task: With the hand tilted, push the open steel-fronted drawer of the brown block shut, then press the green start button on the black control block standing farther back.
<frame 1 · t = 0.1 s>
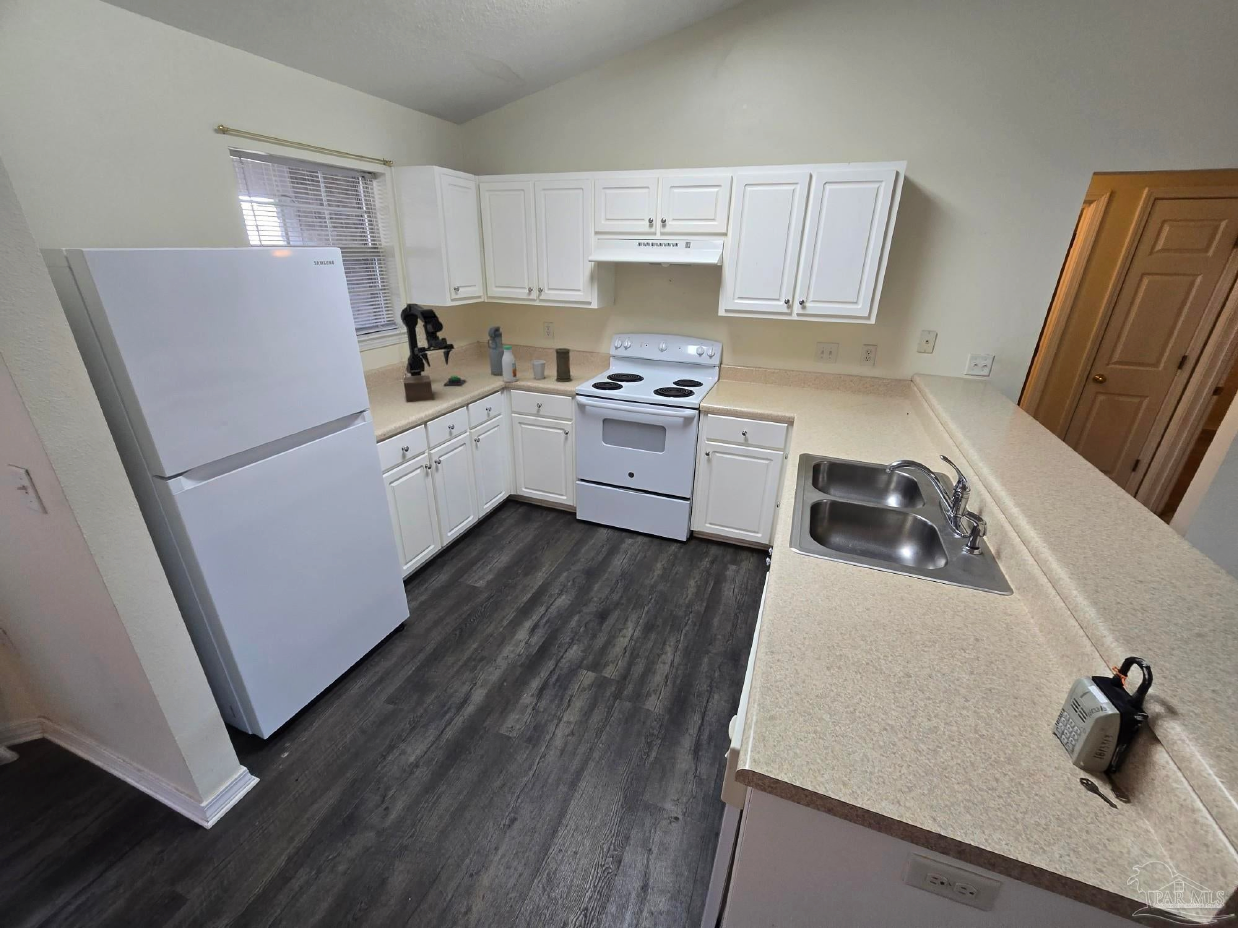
hand: (438, 365, 261), 15 cm above the worktop, tool pointing down, fingers open, 9 cm apart
milk bottle: (510, 381, 297), on the worktop
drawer: (417, 384, 268), point 5 cm above the worktop, slide at 4.0 cm
control block: (455, 383, 290), on the worktop
water bottle: (499, 374, 313), on the worktop
container: (563, 380, 299), on the worktop
start button: (454, 377, 288), point 3 cm above the worktop, slide at 0.1 cm
brown block: (419, 397, 263), on the worktop
dixie cup: (539, 378, 303), on the worktop
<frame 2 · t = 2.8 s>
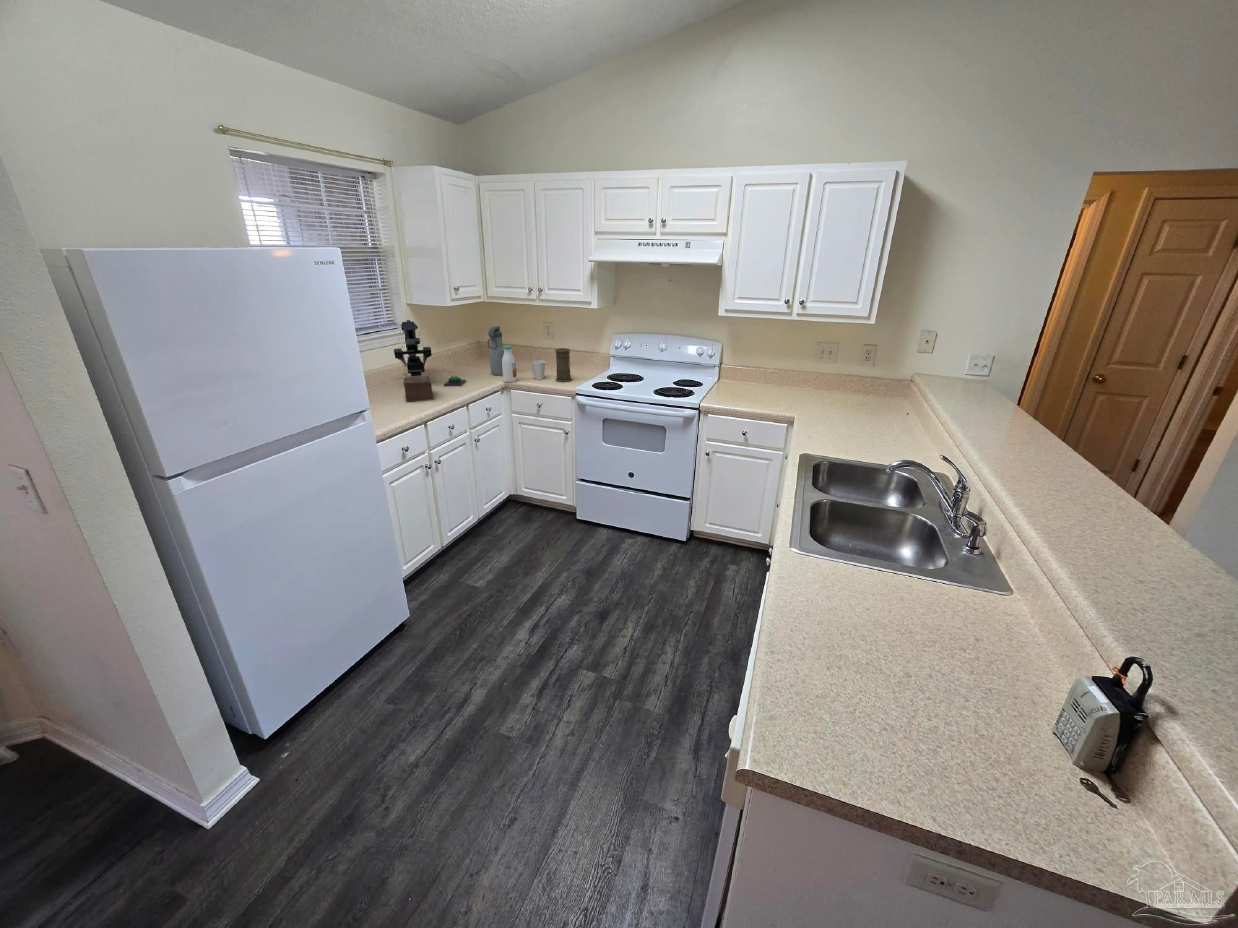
hand: (415, 365, 274), 13 cm above the worktop, tool tilted 45°, fingers open, 9 cm apart
nothing on the worktop moved.
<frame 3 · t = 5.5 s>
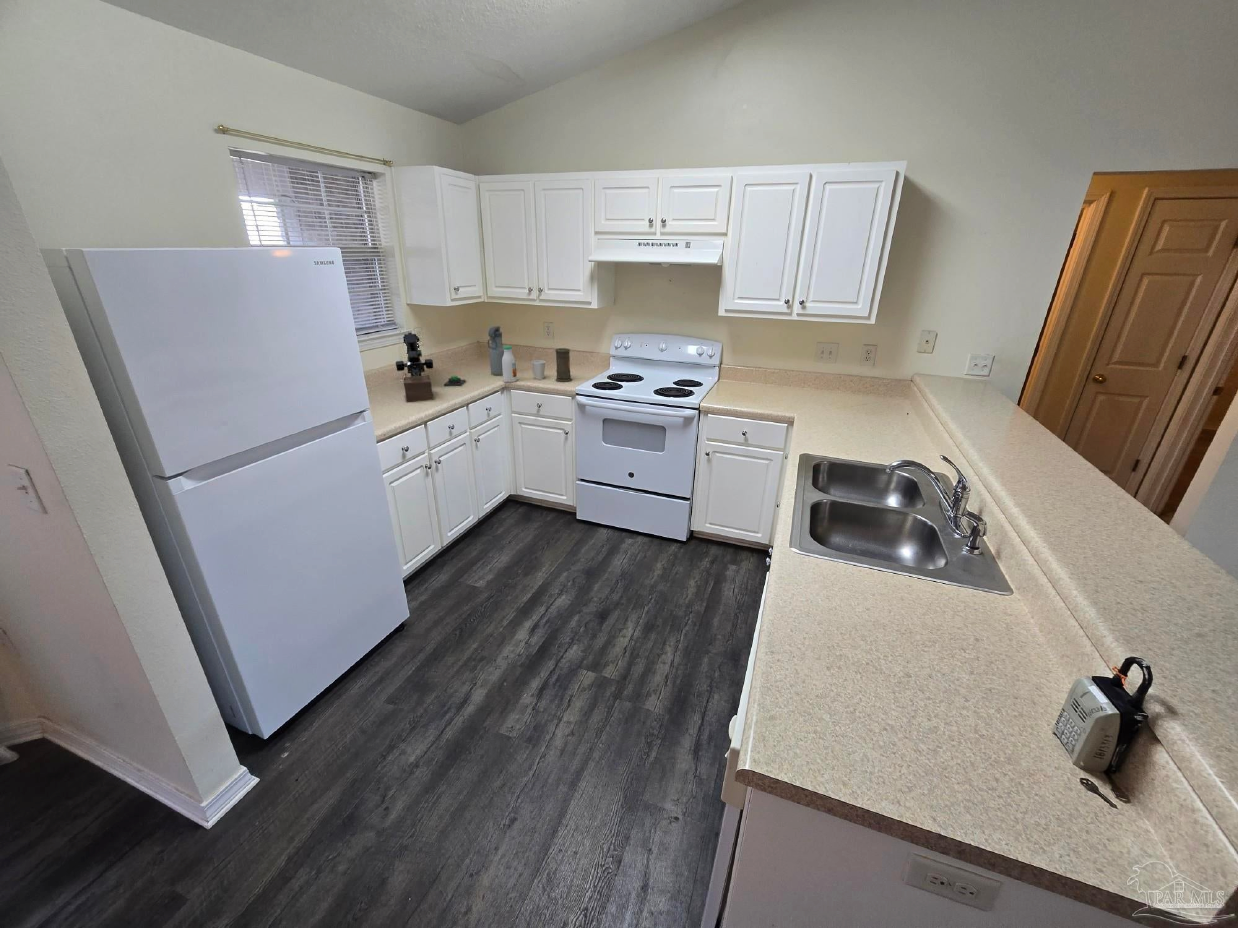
hand: (416, 378, 273), 7 cm above the worktop, tool tilted 45°, fingers closed, pressing on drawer
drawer: (417, 385, 267), point 5 cm above the worktop, slide at 3.3 cm, touching gripper
everything else where it was.
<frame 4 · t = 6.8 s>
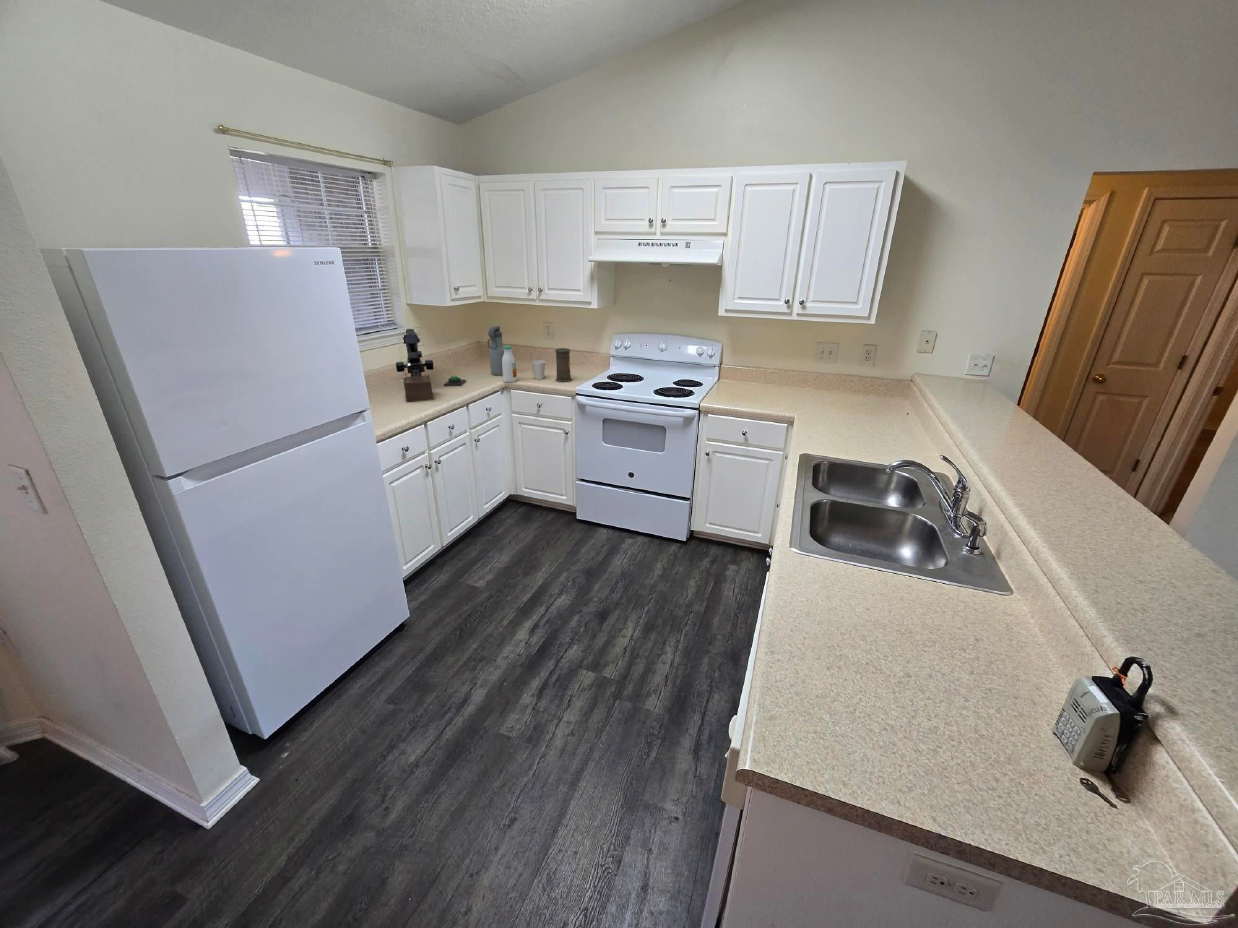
hand: (417, 379, 271), 7 cm above the worktop, tool tilted 45°, fingers closed
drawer: (418, 386, 265), point 5 cm above the worktop, slide at 0.5 cm
everything else where it was.
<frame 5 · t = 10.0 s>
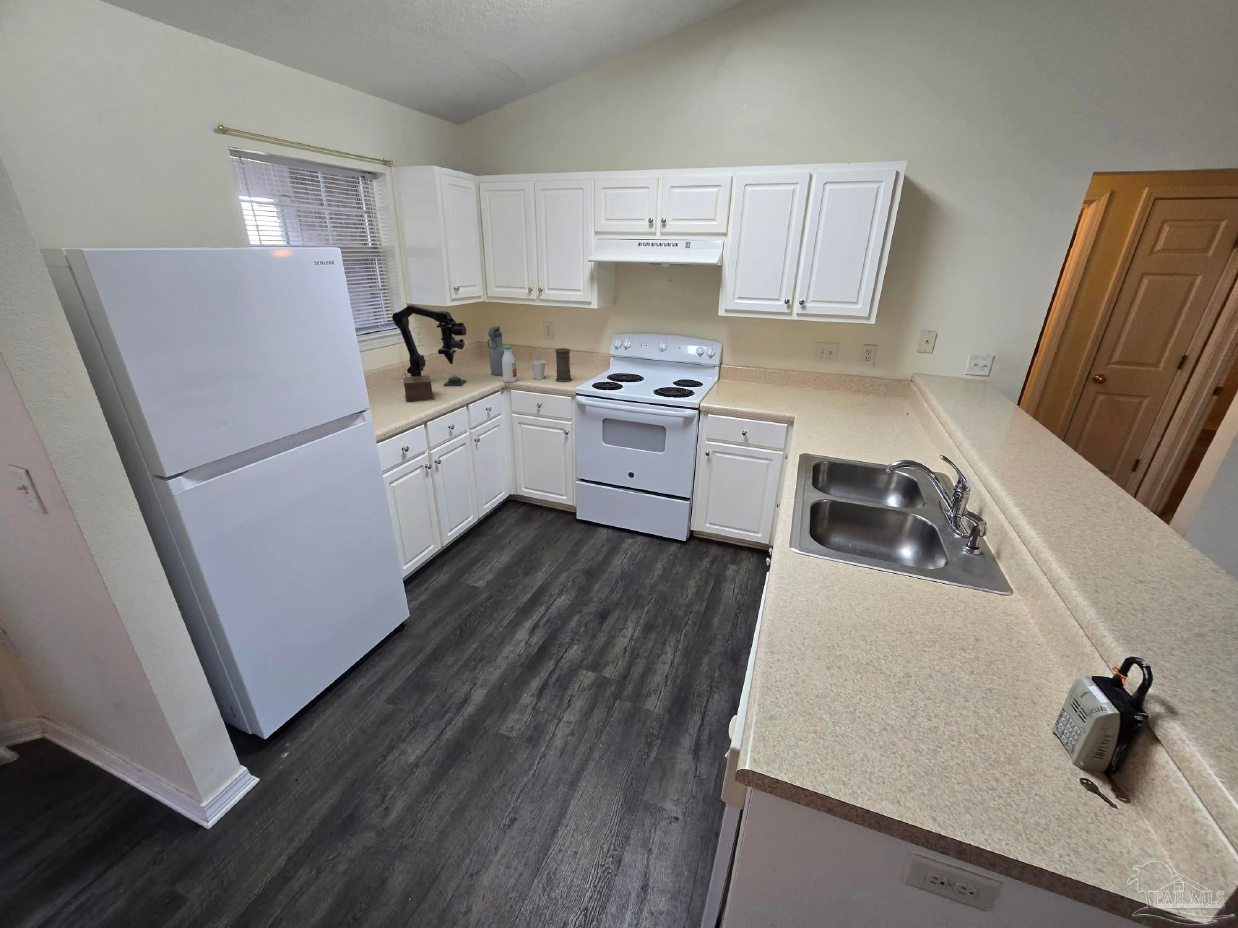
hand: (451, 364, 284), 11 cm above the worktop, tool pointing down, fingers closed
nothing on the worktop moved.
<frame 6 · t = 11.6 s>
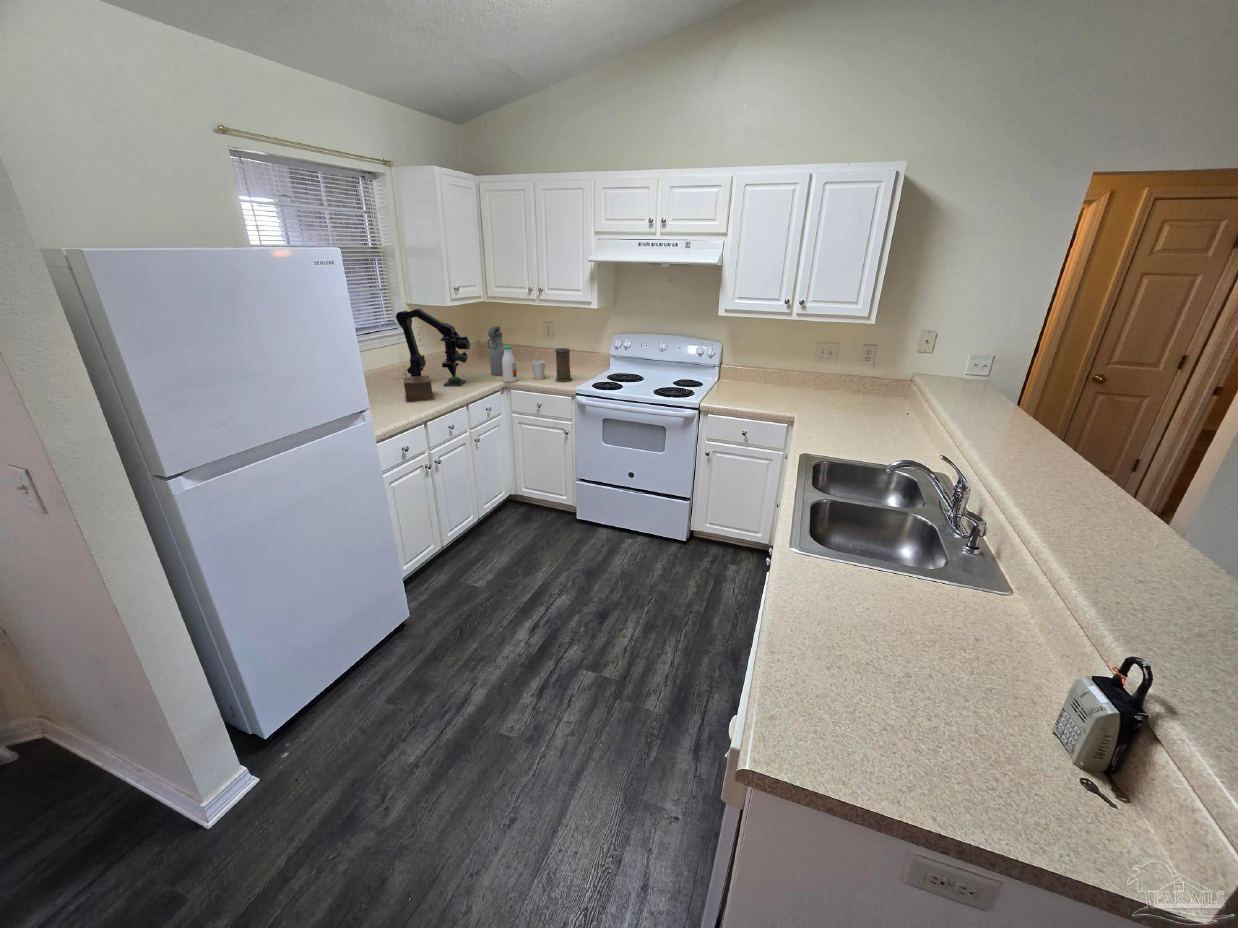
hand: (454, 376, 288), 4 cm above the worktop, tool pointing down, fingers closed, pressing on start button
start button: (454, 378, 288), point 3 cm above the worktop, slide at -0.3 cm, touching gripper
everything else where it was.
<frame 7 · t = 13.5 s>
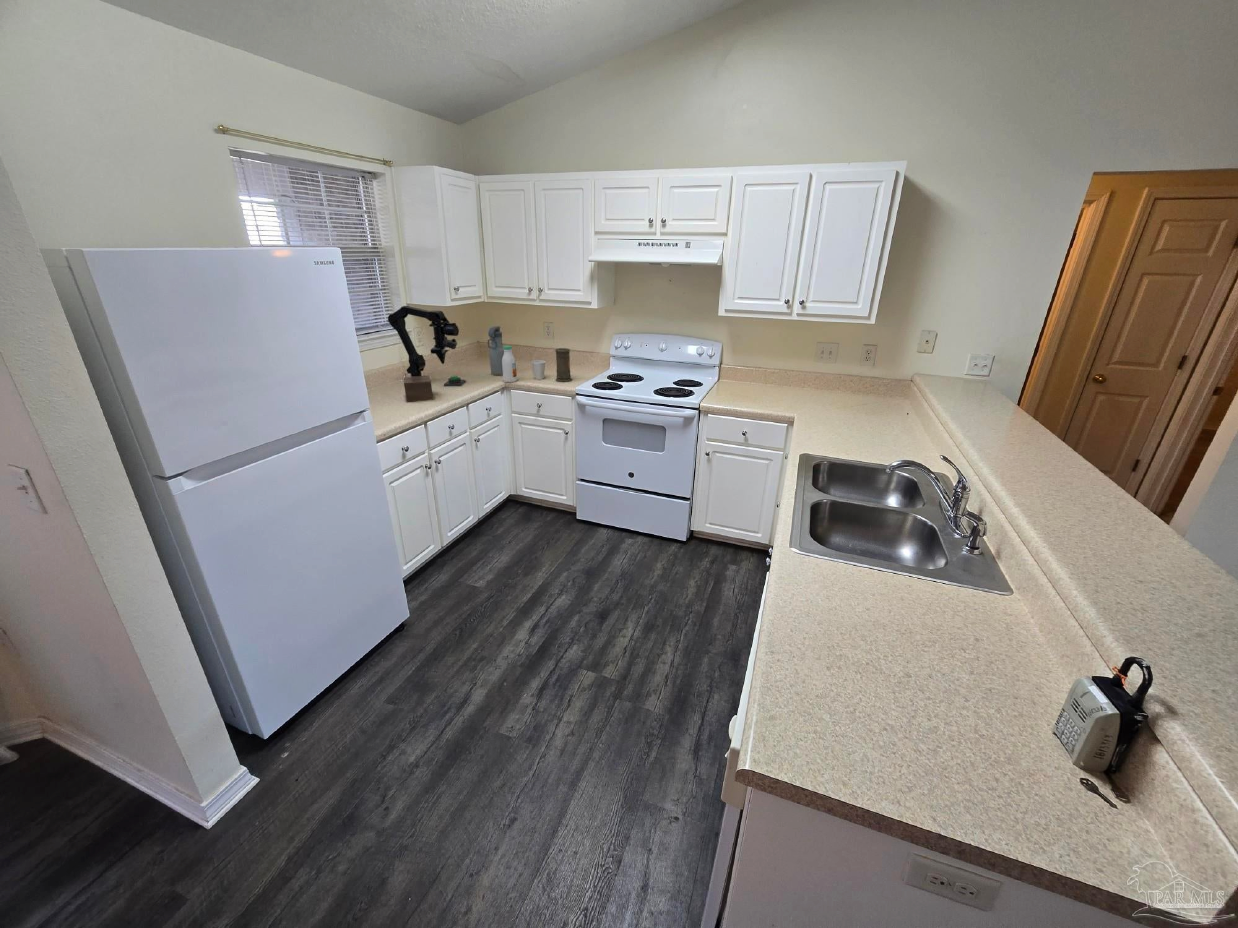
hand: (443, 363, 283), 12 cm above the worktop, tool pointing down, fingers closed
start button: (454, 377, 288), point 3 cm above the worktop, slide at 0.1 cm
everything else where it was.
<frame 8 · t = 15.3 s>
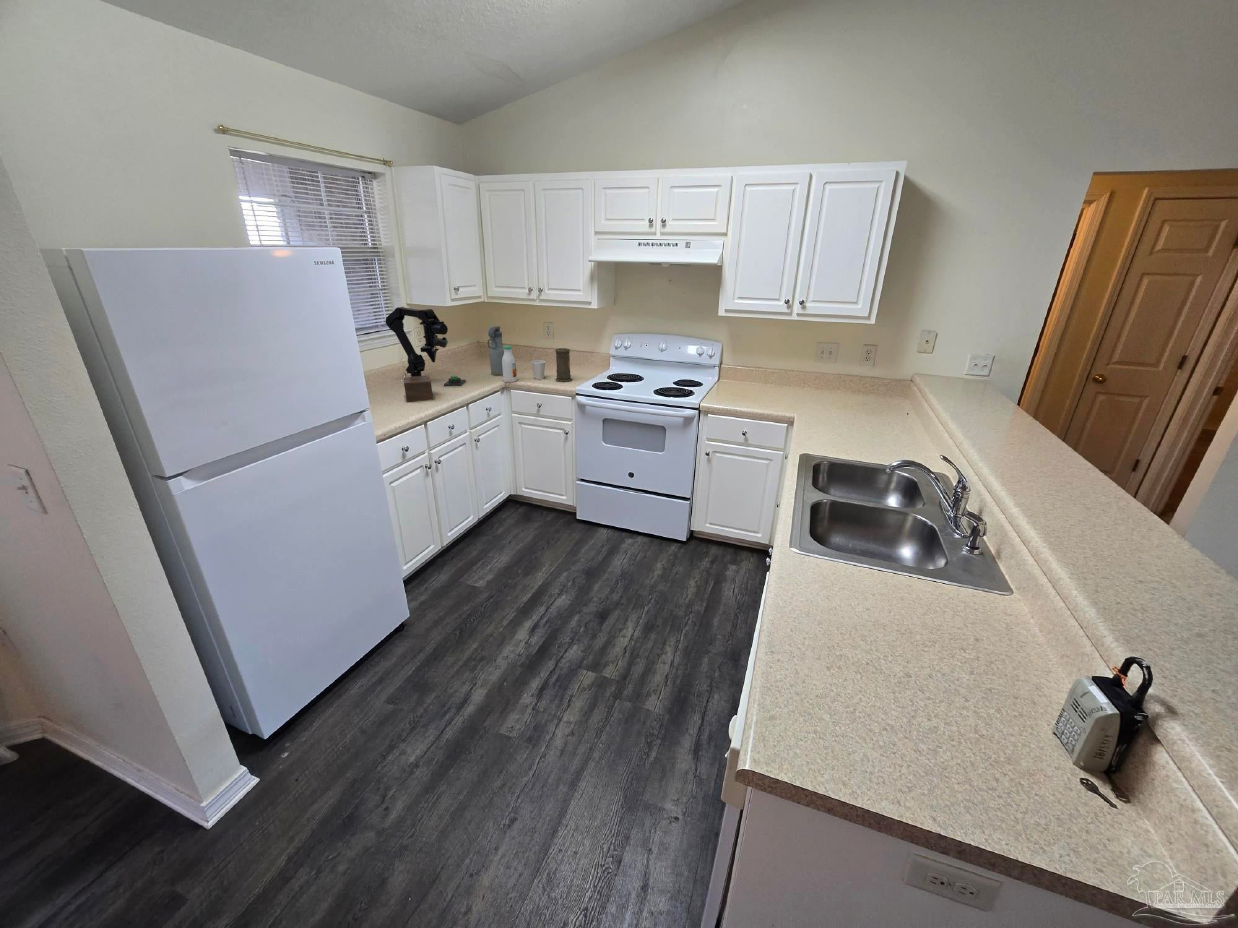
hand: (433, 362, 281), 13 cm above the worktop, tool pointing down, fingers closed
nothing on the worktop moved.
at the end: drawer slide at 0.5 cm; start button pushed in 1.1 cm at the most during the clip, back to where it started at the end; start button slide at 0.1 cm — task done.
